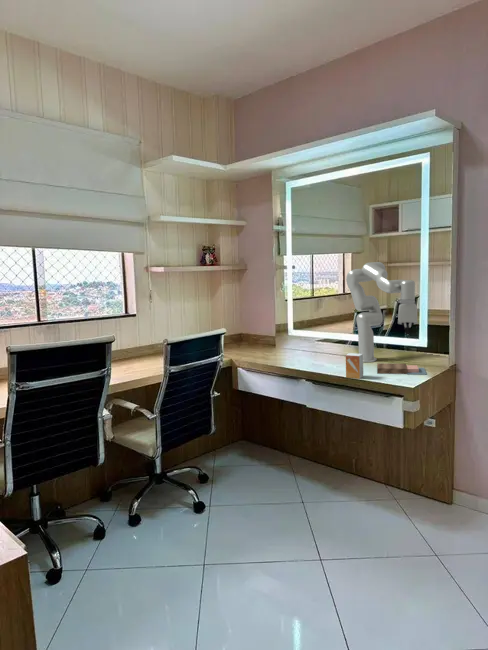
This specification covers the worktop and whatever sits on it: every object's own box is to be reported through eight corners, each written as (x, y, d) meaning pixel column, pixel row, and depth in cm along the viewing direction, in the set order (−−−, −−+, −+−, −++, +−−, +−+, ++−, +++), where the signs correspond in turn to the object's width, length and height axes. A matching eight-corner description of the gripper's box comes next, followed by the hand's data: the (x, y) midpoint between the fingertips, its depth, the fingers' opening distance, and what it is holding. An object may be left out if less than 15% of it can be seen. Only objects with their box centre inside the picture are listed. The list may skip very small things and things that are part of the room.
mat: (407, 374, 243) (407, 373, 243) (405, 368, 257) (405, 367, 257) (426, 374, 240) (426, 374, 240) (423, 368, 254) (423, 367, 254)
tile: (407, 372, 246) (407, 368, 245) (406, 368, 254) (406, 365, 254) (418, 372, 244) (418, 369, 244) (417, 368, 252) (417, 365, 252)
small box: (345, 377, 243) (345, 355, 242) (349, 375, 249) (349, 352, 247) (360, 379, 239) (359, 355, 237) (363, 376, 244) (363, 353, 242)
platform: (377, 373, 249) (377, 368, 248) (377, 368, 261) (377, 363, 261) (407, 373, 244) (407, 368, 243) (405, 368, 256) (405, 363, 256)
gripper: (393, 303, 245) (393, 335, 248) (422, 302, 240) (422, 335, 243) (393, 301, 252) (393, 332, 255) (421, 301, 248) (421, 333, 250)
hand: (407, 334), depth 249 cm, fingers closed
